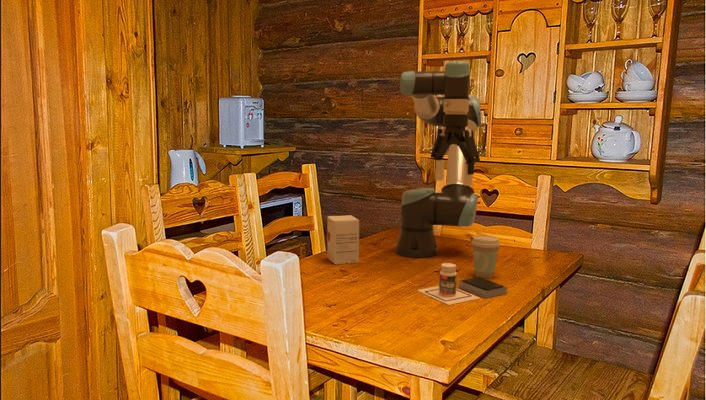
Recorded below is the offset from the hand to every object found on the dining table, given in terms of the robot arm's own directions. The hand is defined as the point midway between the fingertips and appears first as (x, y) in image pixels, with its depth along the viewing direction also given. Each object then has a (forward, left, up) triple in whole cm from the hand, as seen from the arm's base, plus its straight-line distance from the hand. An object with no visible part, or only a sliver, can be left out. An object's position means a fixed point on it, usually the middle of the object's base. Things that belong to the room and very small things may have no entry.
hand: (453, 182), depth 173 cm
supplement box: (-29, -23, -29) cm, 47 cm away
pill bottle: (+17, -15, -29) cm, 37 cm away
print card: (+17, -15, -29) cm, 37 cm away
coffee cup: (+8, +7, -29) cm, 31 cm away
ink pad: (+19, -4, -29) cm, 35 cm away
